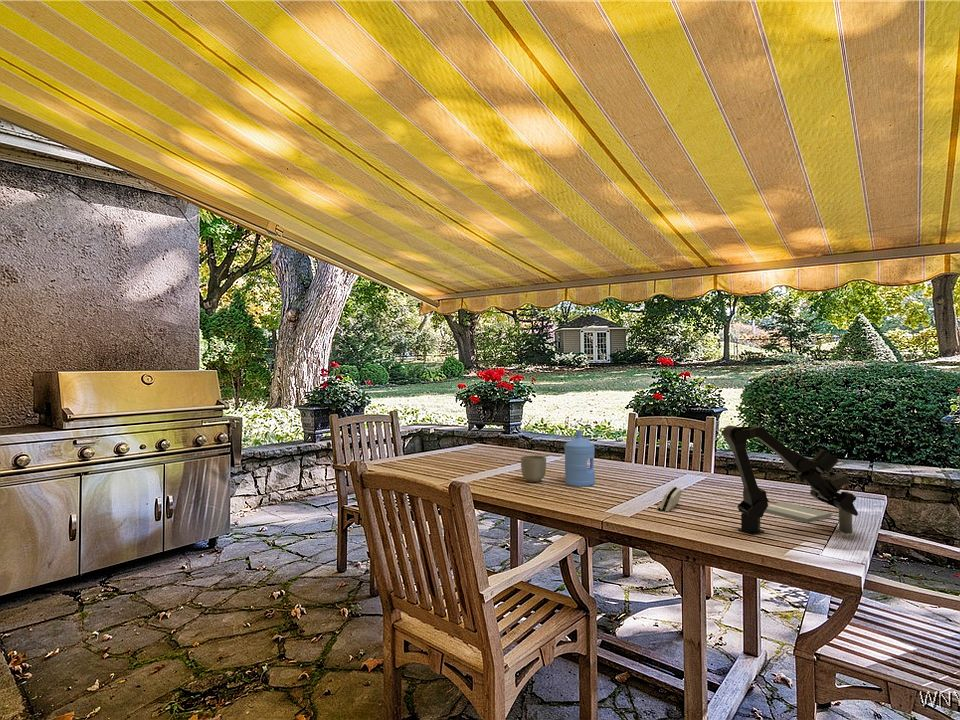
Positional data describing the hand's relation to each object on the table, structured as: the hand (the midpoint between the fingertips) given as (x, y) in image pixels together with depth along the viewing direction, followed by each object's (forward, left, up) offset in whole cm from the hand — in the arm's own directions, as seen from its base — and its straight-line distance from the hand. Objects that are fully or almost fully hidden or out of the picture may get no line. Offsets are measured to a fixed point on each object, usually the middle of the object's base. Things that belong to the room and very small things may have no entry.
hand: (849, 511), depth 189 cm
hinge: (-30, +56, -8) cm, 64 cm away
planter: (-53, +130, -7) cm, 140 cm away
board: (+5, +24, -7) cm, 25 cm away
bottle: (-1, +1, -7) cm, 7 cm away
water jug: (-35, +113, -7) cm, 118 cm away
